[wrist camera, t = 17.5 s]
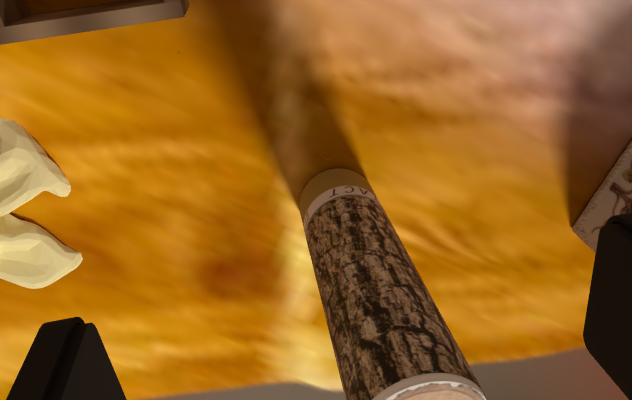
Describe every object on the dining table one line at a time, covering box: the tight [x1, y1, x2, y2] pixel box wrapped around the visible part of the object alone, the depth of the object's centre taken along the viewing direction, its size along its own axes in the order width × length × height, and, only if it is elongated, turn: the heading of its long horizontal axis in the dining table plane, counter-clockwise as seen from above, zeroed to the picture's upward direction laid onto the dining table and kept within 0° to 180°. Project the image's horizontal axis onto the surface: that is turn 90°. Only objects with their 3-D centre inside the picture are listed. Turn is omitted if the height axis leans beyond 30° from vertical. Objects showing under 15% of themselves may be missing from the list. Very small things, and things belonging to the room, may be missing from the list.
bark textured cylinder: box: [299, 168, 486, 400], centre depth 37 cm, size 7×7×25 cm
